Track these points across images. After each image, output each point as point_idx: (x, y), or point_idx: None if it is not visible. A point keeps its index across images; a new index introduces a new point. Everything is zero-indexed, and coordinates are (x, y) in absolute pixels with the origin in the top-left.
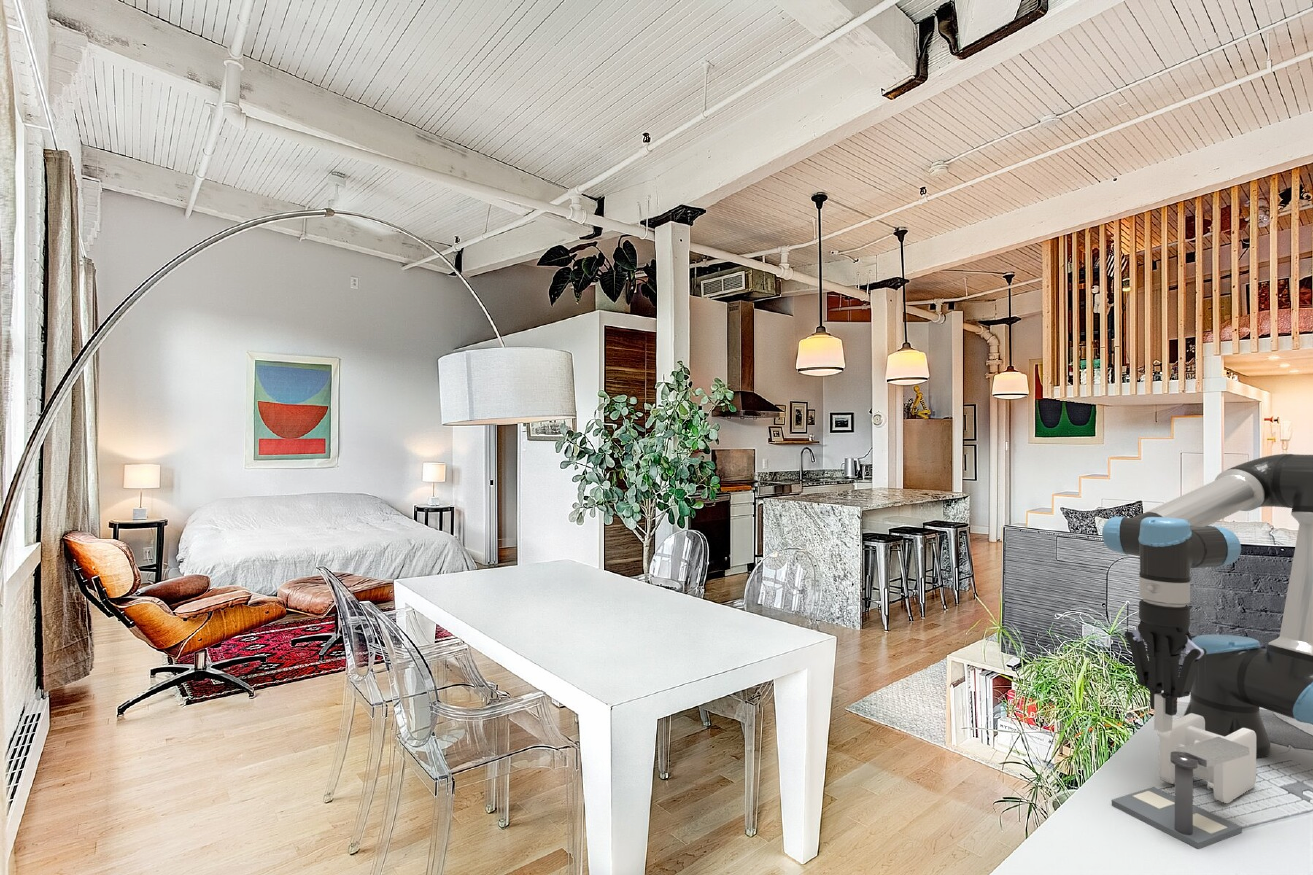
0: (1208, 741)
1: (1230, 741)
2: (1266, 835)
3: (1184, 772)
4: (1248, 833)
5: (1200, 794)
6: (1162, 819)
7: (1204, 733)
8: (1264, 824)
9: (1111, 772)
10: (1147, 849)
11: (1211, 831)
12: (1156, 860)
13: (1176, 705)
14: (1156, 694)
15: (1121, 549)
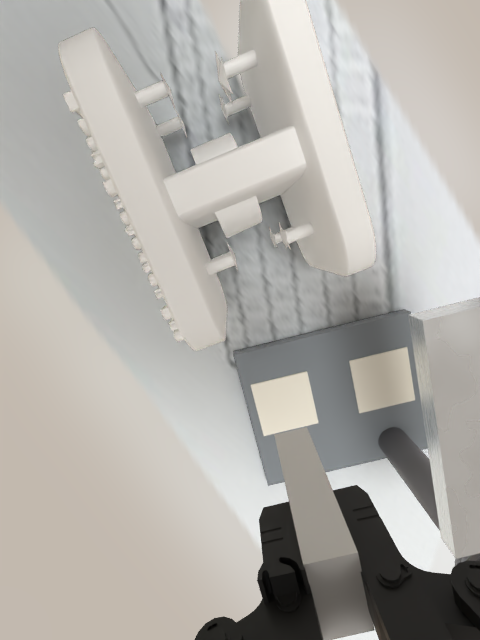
0: (445, 403)
1: (471, 316)
2: (424, 267)
3: None
4: (409, 298)
5: (259, 251)
6: (351, 447)
7: (237, 192)
8: (392, 227)
9: (138, 374)
10: (401, 522)
11: (410, 393)
12: (429, 531)
13: (383, 525)
14: (328, 632)
15: None
